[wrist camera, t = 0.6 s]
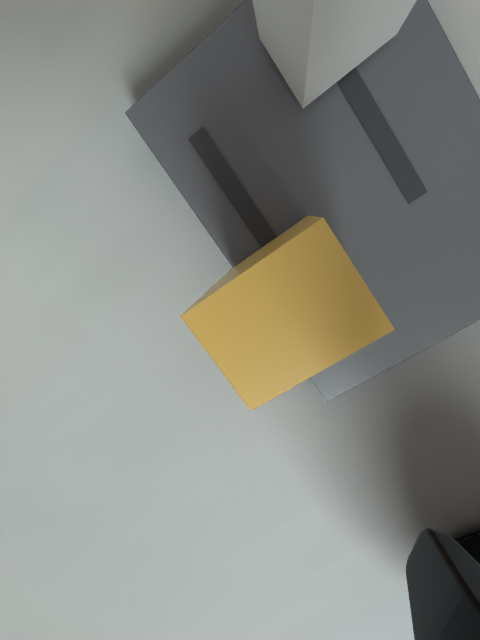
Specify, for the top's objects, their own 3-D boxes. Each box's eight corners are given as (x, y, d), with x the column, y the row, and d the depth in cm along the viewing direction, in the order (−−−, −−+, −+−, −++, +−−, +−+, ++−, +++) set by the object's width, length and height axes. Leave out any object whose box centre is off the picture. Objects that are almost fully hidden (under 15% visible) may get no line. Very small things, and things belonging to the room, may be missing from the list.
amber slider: (345, 274, 16) (394, 329, 8) (269, 322, 17) (250, 411, 9) (308, 215, 15) (323, 217, 8) (231, 268, 17) (180, 316, 9)
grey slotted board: (539, 264, 17) (572, 271, 15) (323, 384, 20) (326, 402, 18) (357, -71, 15) (367, -116, 13) (142, 123, 18) (123, 112, 16)
